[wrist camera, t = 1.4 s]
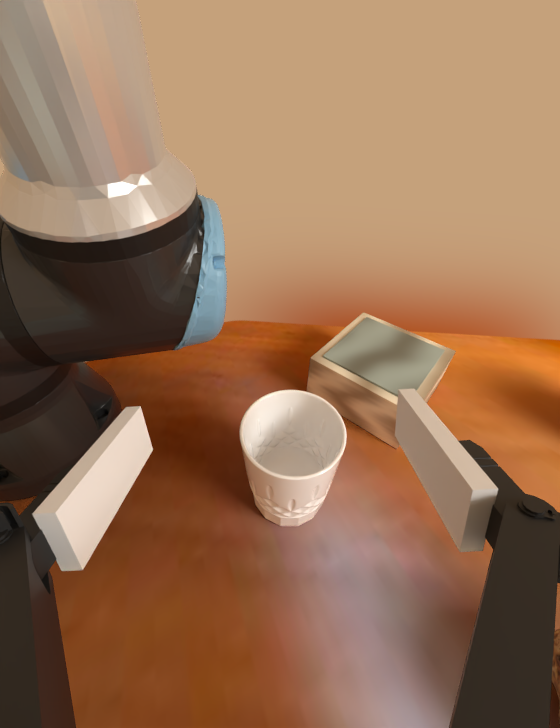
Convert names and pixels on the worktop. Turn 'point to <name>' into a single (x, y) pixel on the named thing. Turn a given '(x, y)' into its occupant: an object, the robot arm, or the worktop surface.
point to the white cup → (291, 453)
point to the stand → (375, 372)
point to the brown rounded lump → (556, 665)
